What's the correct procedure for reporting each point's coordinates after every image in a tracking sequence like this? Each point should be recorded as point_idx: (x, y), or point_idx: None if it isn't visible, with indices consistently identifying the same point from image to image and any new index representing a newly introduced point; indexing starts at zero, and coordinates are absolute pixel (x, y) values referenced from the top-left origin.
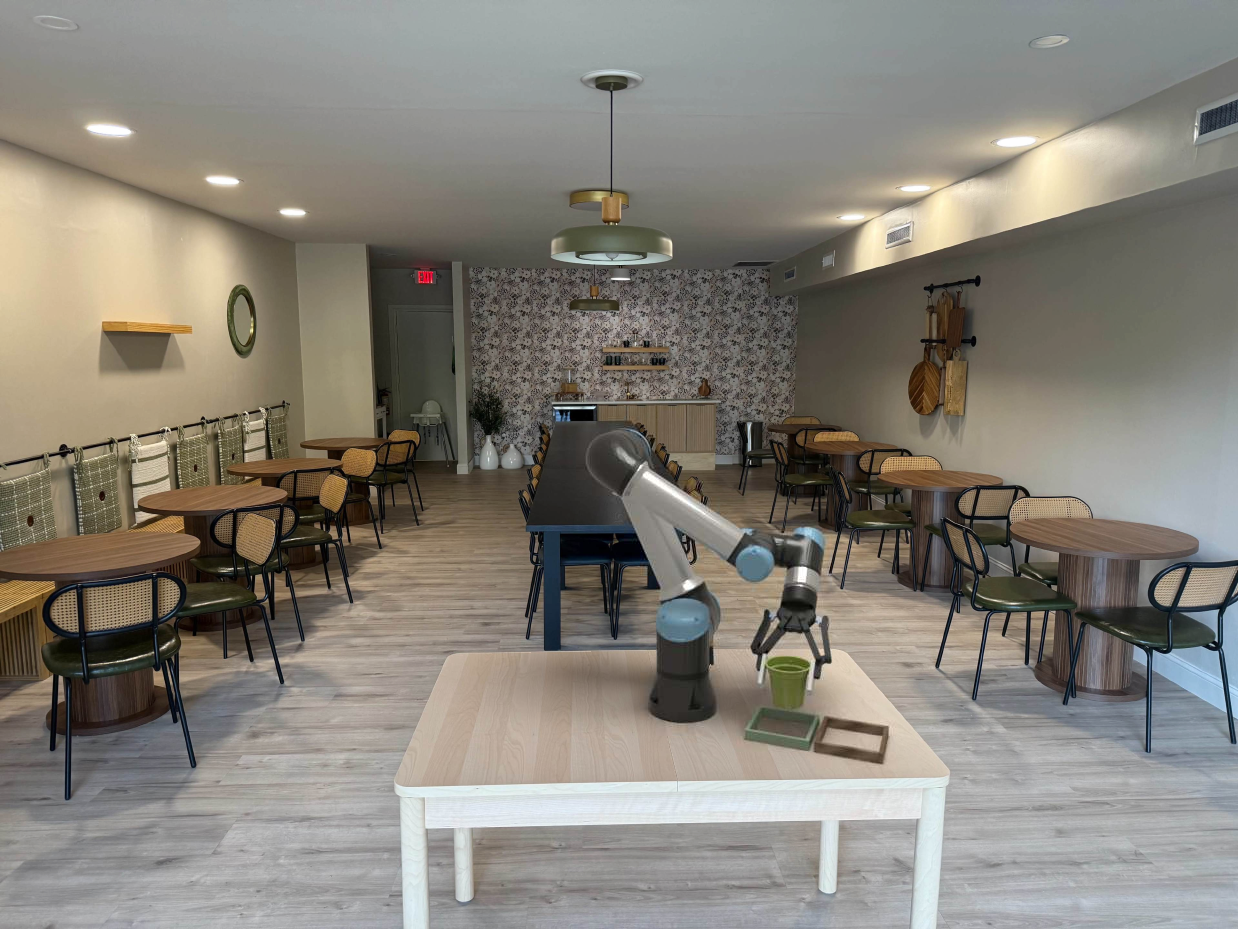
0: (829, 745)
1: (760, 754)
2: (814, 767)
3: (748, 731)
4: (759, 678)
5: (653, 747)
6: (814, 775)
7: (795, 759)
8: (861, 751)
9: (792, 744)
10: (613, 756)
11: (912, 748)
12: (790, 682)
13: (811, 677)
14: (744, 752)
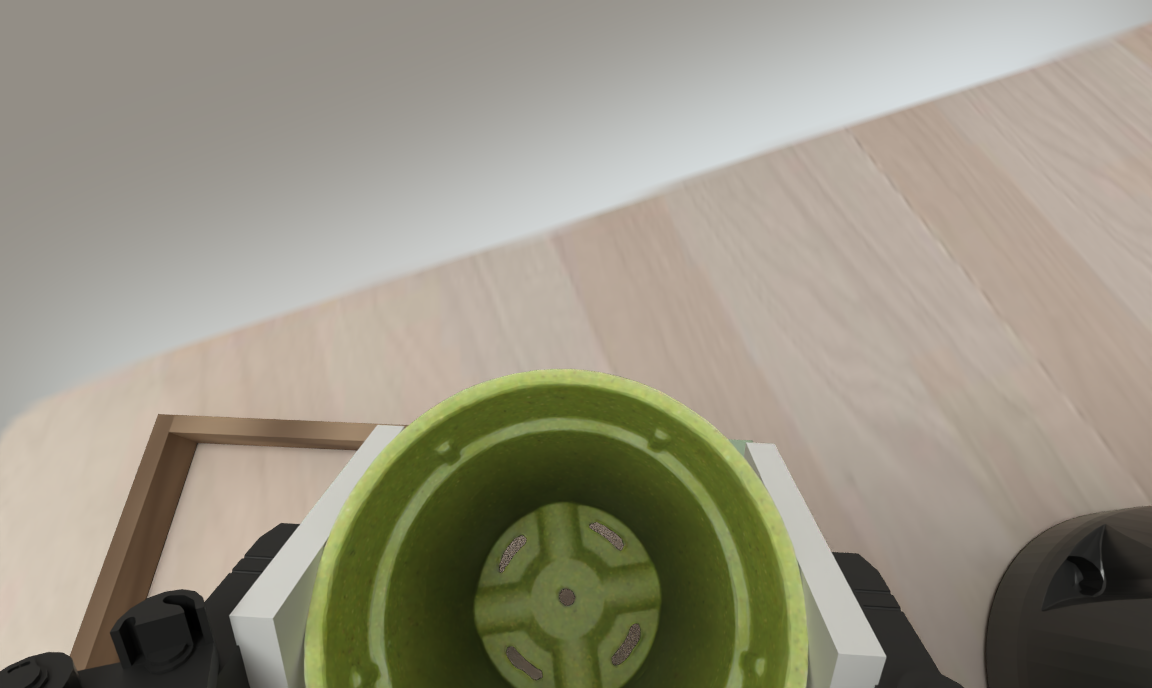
0: (372, 424)
1: (645, 349)
2: (442, 322)
3: (732, 441)
4: (776, 462)
5: (1034, 272)
6: (441, 272)
7: (513, 355)
8: (243, 418)
9: None
10: (1111, 177)
11: (10, 621)
12: (523, 440)
13: (343, 484)
14: (706, 344)
